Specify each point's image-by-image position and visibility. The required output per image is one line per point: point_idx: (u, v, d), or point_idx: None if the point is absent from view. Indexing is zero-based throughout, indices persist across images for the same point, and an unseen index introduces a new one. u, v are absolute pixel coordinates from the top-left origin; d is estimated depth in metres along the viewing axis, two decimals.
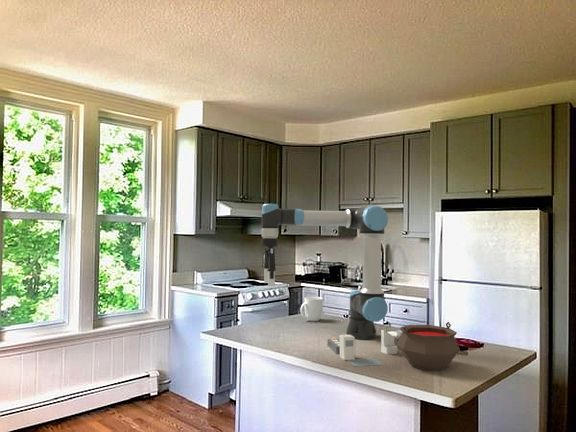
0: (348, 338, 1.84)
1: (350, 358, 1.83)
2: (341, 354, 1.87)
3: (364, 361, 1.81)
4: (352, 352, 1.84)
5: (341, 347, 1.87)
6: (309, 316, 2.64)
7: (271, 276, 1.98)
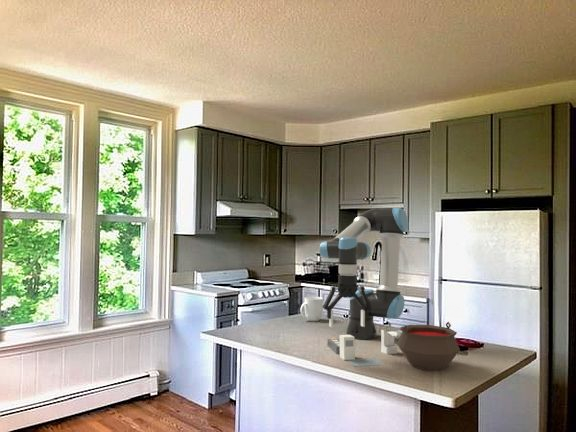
0: (348, 338, 1.84)
1: (350, 358, 1.83)
2: (341, 354, 1.87)
3: (364, 361, 1.81)
4: (352, 352, 1.84)
5: (341, 347, 1.87)
6: (309, 316, 2.64)
7: (327, 315, 1.85)
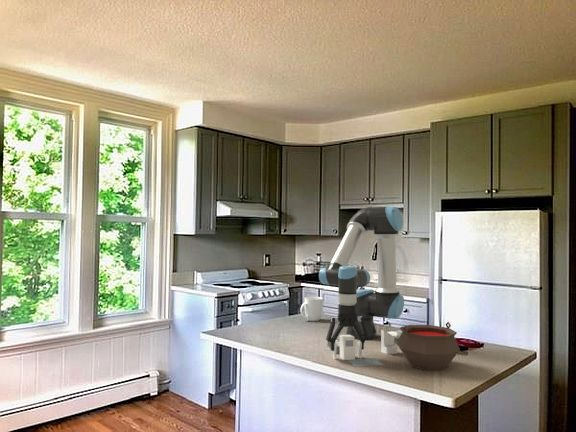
0: (348, 338, 1.84)
1: (350, 358, 1.83)
2: (341, 354, 1.87)
3: (364, 361, 1.81)
4: (352, 352, 1.84)
5: (341, 347, 1.87)
6: (309, 316, 2.64)
7: None
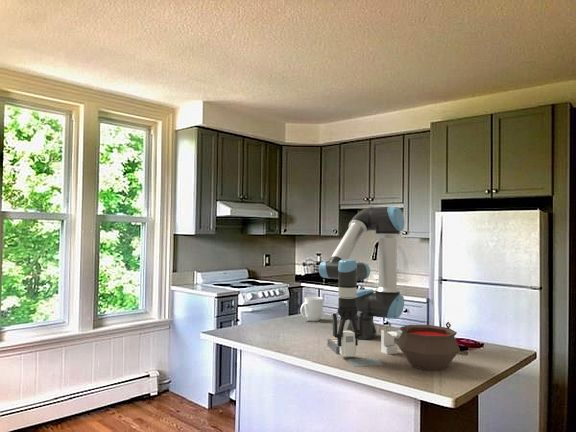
0: (348, 334, 1.84)
1: (350, 354, 1.84)
2: None
3: (364, 361, 1.81)
4: (352, 348, 1.84)
5: None
6: (309, 316, 2.64)
7: (337, 343, 1.86)
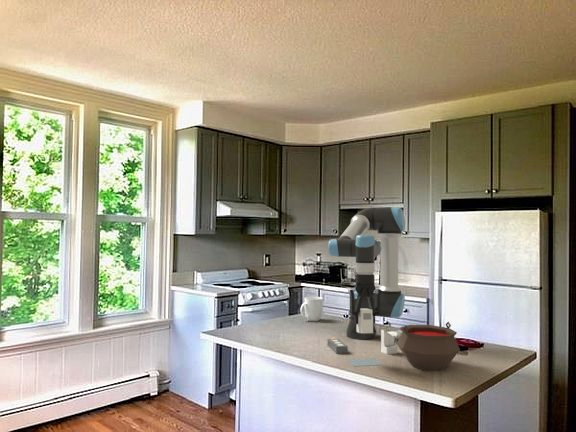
0: (366, 311, 1.79)
1: (368, 331, 1.78)
2: None
3: (364, 361, 1.81)
4: (370, 325, 1.78)
5: None
6: (309, 316, 2.64)
7: (354, 321, 1.80)
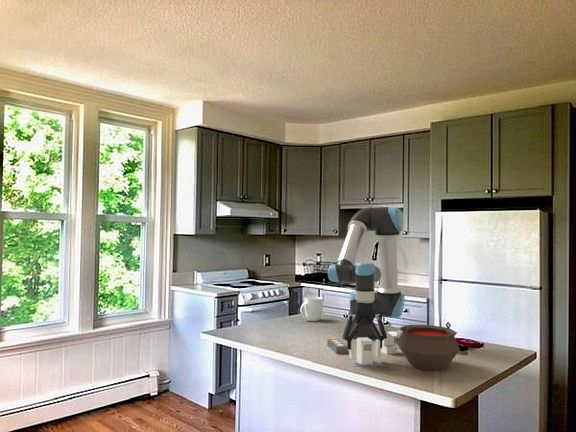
0: (366, 342, 1.78)
1: (368, 362, 1.78)
2: (358, 357, 1.81)
3: None
4: (370, 356, 1.78)
5: (359, 351, 1.81)
6: (309, 316, 2.64)
7: (347, 346, 1.80)
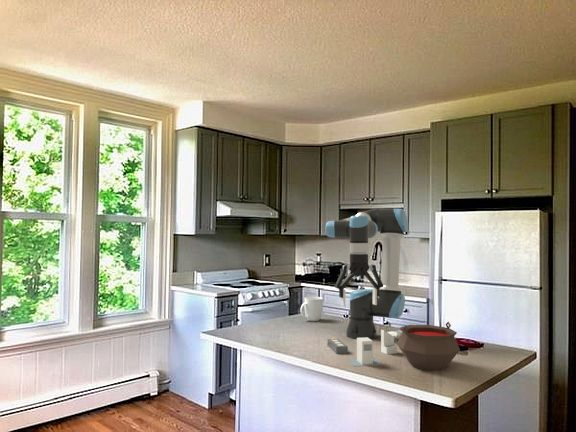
0: (366, 342, 1.78)
1: (368, 362, 1.78)
2: (358, 357, 1.81)
3: None
4: (370, 356, 1.78)
5: (359, 351, 1.81)
6: (309, 316, 2.64)
7: (339, 294, 1.84)
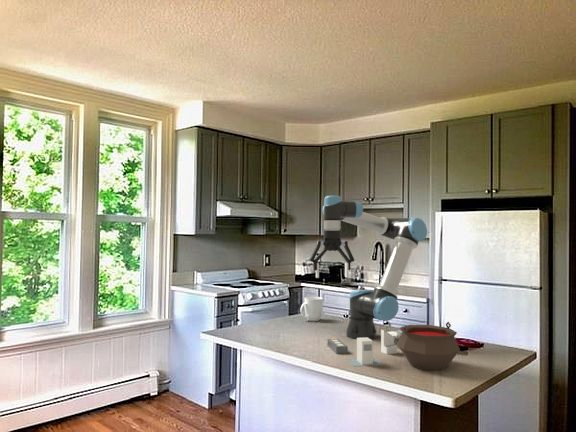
0: (366, 342, 1.78)
1: (368, 362, 1.78)
2: (358, 357, 1.81)
3: None
4: (370, 356, 1.78)
5: (359, 351, 1.81)
6: (309, 316, 2.64)
7: None
